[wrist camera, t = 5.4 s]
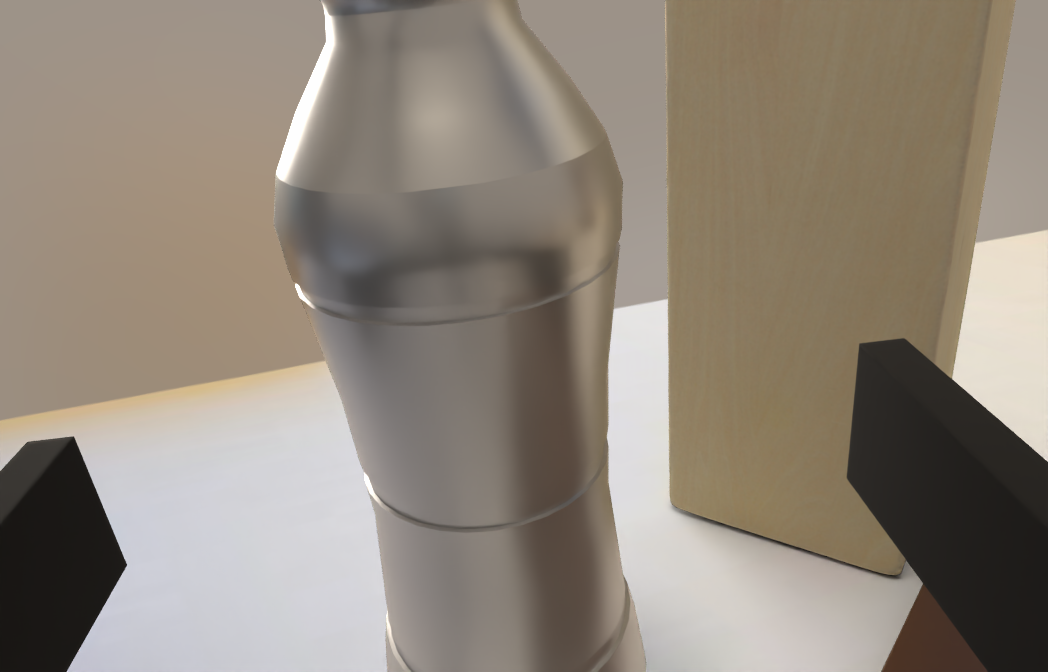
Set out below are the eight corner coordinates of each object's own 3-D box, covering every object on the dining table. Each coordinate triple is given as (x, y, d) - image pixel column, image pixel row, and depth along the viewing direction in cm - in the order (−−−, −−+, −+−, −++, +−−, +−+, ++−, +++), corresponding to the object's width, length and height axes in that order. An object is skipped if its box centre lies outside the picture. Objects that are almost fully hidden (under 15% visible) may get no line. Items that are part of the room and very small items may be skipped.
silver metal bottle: (593, 607, 25) (531, -129, 16) (697, 805, 19) (689, -195, 10) (388, 671, 23) (199, -100, 15) (431, 906, 17) (156, -157, 9)
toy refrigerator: (947, 459, 30) (1055, -211, 20) (907, 584, 24) (1027, -246, 15) (740, 412, 34) (753, -158, 25) (668, 509, 28) (650, -172, 19)
